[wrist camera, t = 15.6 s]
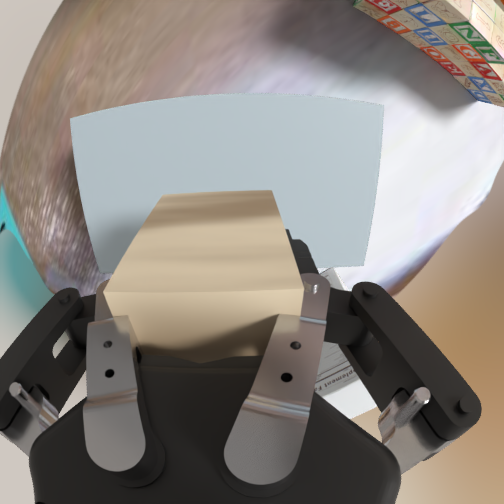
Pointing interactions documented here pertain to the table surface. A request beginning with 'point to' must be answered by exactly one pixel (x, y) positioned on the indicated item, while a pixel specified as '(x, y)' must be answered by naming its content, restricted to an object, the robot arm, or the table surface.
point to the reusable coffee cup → (500, 4)
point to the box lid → (234, 165)
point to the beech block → (207, 276)
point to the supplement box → (340, 372)
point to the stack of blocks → (452, 38)
